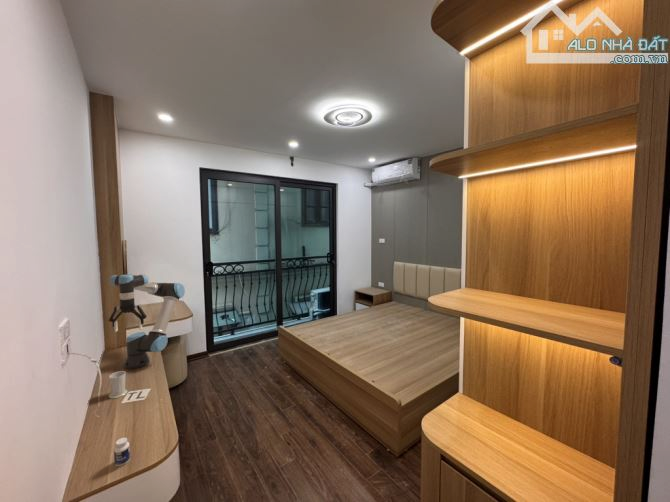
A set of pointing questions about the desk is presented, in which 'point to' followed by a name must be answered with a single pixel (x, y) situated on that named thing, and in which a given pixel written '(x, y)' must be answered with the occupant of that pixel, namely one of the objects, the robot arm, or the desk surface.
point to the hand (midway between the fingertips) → (128, 330)
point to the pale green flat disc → (118, 396)
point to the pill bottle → (121, 452)
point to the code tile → (136, 395)
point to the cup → (117, 383)
